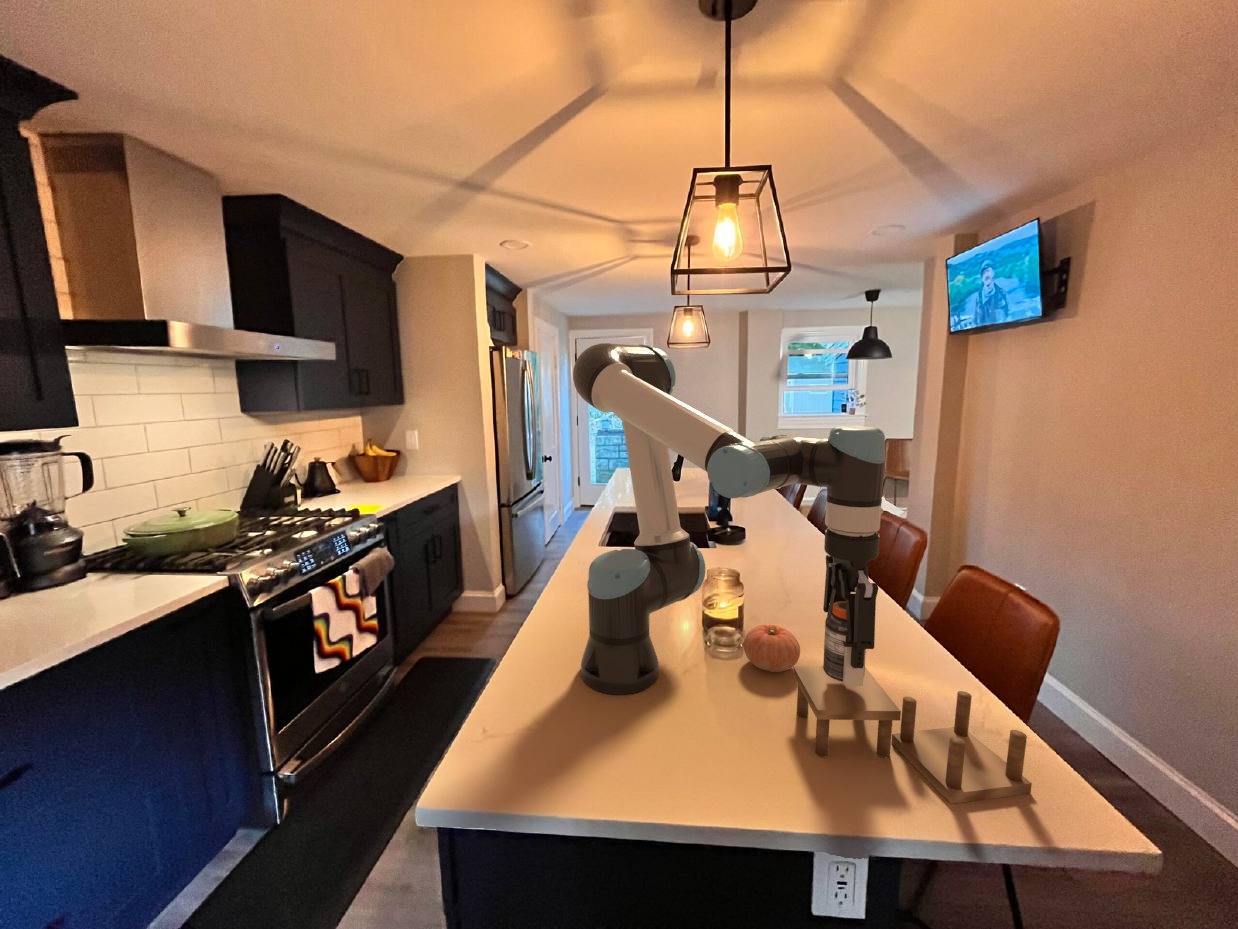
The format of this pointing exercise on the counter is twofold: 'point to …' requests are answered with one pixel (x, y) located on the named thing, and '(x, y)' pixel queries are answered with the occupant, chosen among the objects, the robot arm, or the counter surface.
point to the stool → (844, 705)
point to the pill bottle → (836, 641)
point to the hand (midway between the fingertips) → (844, 672)
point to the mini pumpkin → (771, 648)
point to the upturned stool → (961, 757)
